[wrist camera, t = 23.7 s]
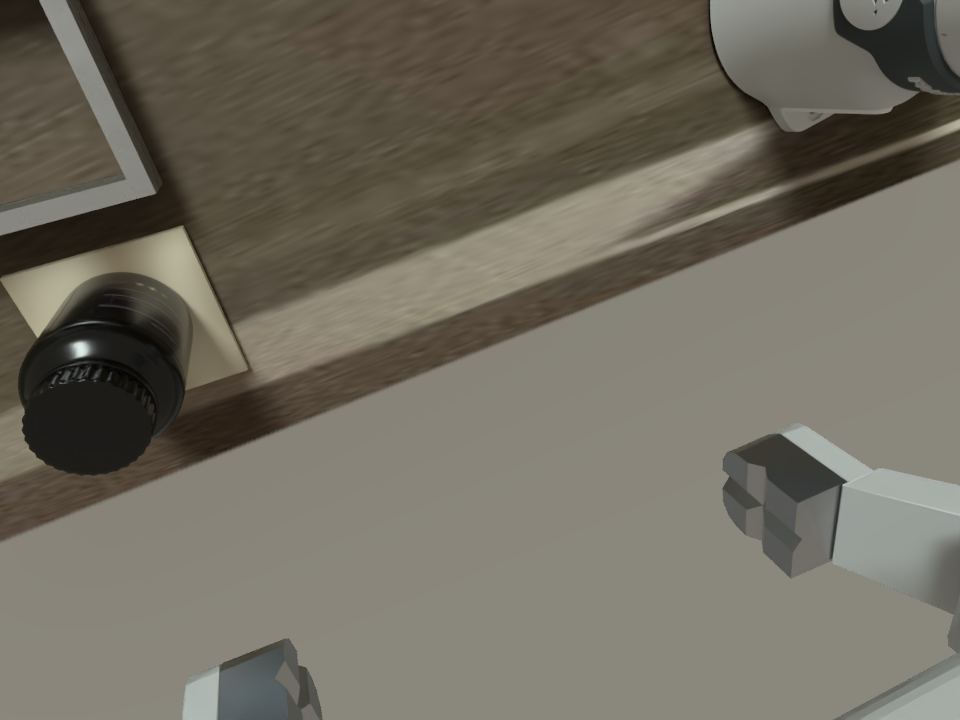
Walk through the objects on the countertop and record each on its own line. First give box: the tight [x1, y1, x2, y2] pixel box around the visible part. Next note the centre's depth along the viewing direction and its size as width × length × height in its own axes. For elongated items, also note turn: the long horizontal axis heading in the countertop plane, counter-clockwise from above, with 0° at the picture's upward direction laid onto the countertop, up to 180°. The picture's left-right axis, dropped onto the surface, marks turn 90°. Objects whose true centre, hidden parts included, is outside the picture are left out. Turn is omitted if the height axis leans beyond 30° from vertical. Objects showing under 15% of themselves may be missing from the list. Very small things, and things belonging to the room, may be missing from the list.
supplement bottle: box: [18, 272, 193, 476], centre depth 31 cm, size 7×7×12 cm
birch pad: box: [0, 225, 248, 391], centre depth 36 cm, size 10×10×1 cm
